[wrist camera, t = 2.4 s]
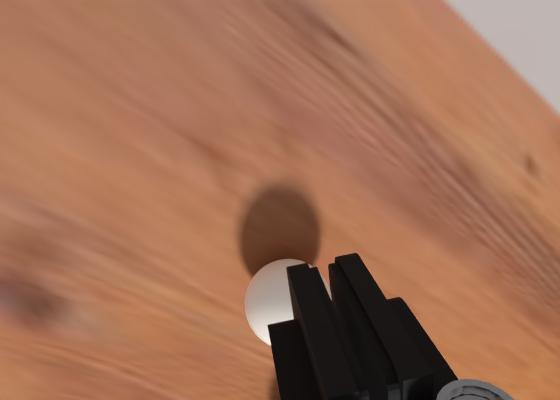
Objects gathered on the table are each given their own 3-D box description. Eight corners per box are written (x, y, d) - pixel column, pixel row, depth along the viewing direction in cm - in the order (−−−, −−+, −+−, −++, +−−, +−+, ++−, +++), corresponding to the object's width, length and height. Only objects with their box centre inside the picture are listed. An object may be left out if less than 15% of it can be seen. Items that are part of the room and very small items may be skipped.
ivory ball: (235, 251, 27) (240, 304, 22) (316, 236, 27) (340, 284, 22) (248, 317, 29) (256, 378, 24) (323, 301, 30) (346, 358, 25)
